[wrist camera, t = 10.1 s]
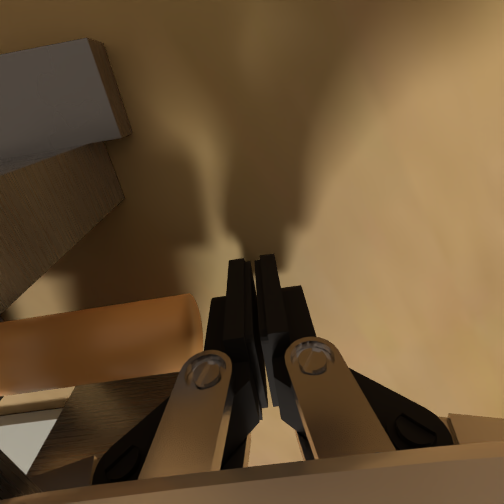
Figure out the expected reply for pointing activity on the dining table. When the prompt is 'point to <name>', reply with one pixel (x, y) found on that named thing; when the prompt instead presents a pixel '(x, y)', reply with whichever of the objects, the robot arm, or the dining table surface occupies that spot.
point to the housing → (62, 223)
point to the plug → (99, 344)
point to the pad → (26, 435)
